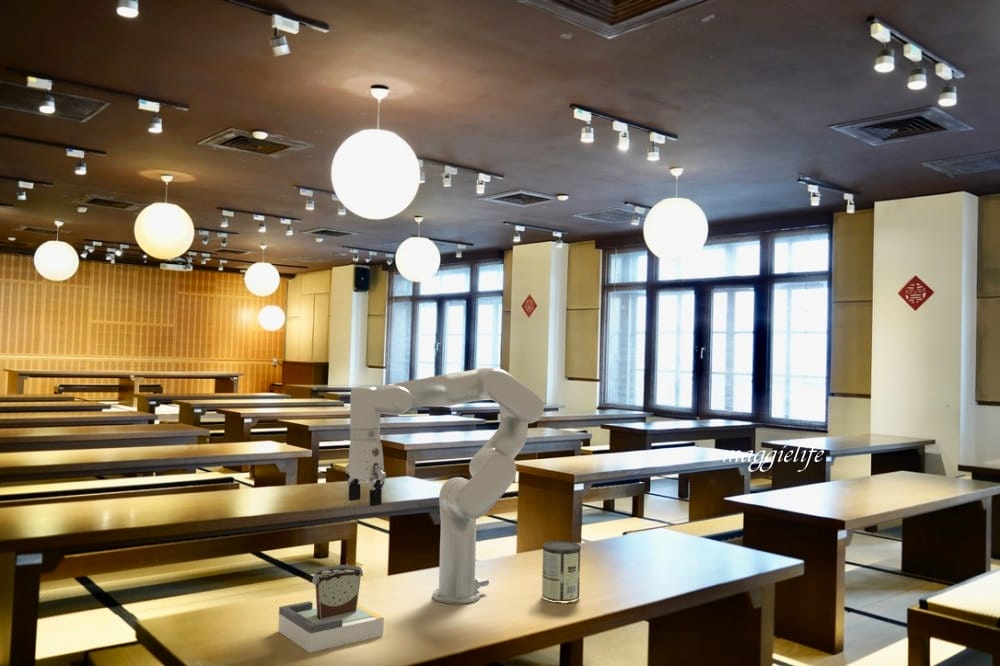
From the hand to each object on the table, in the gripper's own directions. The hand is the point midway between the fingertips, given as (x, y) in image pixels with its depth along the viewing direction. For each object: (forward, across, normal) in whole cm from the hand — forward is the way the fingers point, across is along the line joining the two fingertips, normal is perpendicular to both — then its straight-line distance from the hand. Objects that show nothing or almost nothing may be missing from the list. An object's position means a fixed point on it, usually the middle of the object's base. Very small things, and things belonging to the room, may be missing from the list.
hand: (364, 502), depth 197 cm
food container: (+22, -11, +16) cm, 29 cm away
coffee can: (+28, -25, -46) cm, 59 cm away
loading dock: (+26, -12, +17) cm, 33 cm away
